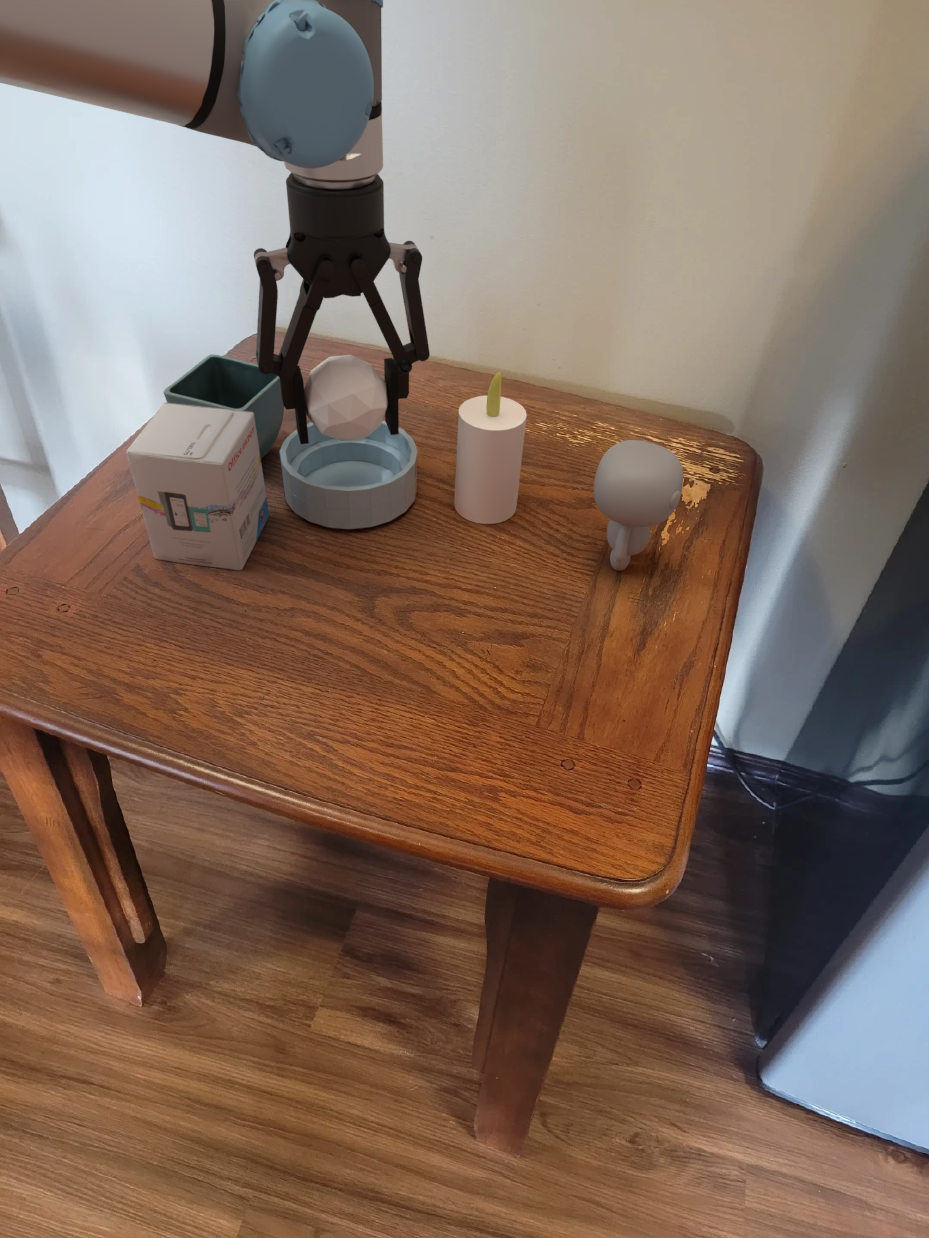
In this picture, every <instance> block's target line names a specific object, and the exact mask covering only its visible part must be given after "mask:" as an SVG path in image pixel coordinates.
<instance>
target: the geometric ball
mask: <svg viewBox="0 0 929 1238" xmlns="http://www.w3.org/2000/svg"><path fill="white" fill-rule="evenodd" d="M304 395H305V406H306V417H308V419H309V420H310V422H313V424H314V425H315V426H316V427H317V429H318V430H319V431H320V433H321V434H324V435H326V436H329V437H332V438H334V439H337V440H339V441H354V440H363V439H365V438H366V437H367V436H368V435H370V434H371V433H372V432H373V431H375V430H376V429H377V428H379V427H380V426H381V424H382V421H384V418H385V412H386V409H387V406H388V396H387V387H386V382H385V380H384V379H383V377H382V376H381V374H379V372H378V371H377V370H376V369H375V367H374V366H373V365H372V364H371V363H370V362H368V361H365V360H363V359H362V358H359V357H357V356H355V355H353V354H343V355H342V354H341V355H333V356H332V355H331V356H328V357H327V358H326V359H324V360H323V361H321V362H320V363H319V364H318V365H316V366H315V367H314V368H312V369H311V370H310V371H309V374H308V377H307V380H306V383H305V385H304Z"/></svg>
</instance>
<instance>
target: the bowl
mask: <svg viewBox="0 0 929 1238" xmlns="http://www.w3.org/2000/svg"><path fill="white" fill-rule="evenodd" d="M307 429H308V440H309V444H301V443H300V440H299V436H298V432H297V428H296V429H294V430H293V431H292V432H291V433H290V434H289V435H288V436H287V437H286V438H285V439H284V440H283V442H282V444H281V447H280V449H279V459H280V466H281V475H282V485H283V492H284V499H285V502H286V503H287V505H288V506H289V508H290V509H291V510H292V511H293V512H294V513H295V514H296V515H298V516H299V517H301V518H302V519H304V520H306V521H307V522H309V523H313V524H316V525H318V526H323V527H326V528H329V529H330V528H331V529H339V530H340V529H342V530H355V529H356V530H357V529H364V528H373V527H376V526H379V525H383V524H385V523H389V522H391V521H393V520H395V519H396V518H398V517H399V516H401V515H403V514H404V513H406V512H407V510H408V509H409V508H410V507H411V506H412V505H413V503H414V502H415V500H416V496H417V490H418V458H419V457H418V456H419V455H418V454H419V453H418V448H417V446H416V443H415V440H414V438H413V437H411V435H410V434H408V432H406V430H405V429H403V428H402V427H399V434H397V435H391V434H390V432H389V429H388V426H387V424H386V421H385V420H383V421H382V424H381V426H380V427H379V428H377V429H376V430H375V431H373V432H372V433H371V434H370V435H368V436H367V437H366V438H365V439H363V440H354V441H339V440H337V439H334V438H332V437H329V436H326V435H324V434H321V433H320V431H319V430H318V429H317V427H316V426H315V425H314V424H313V422H312V421H310V422H307Z"/></svg>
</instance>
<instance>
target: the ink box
mask: <svg viewBox="0 0 929 1238" xmlns="http://www.w3.org/2000/svg"><path fill="white" fill-rule="evenodd" d="M125 453H126V457H127V461H128V464H129V469H130V472H131V475H132V480H133V483H134V487H135V491H136V494H137V498H138V501H139V506H140V509H141V512H142V516H143V520H144V523H145V528H146V532H147V535H148V539H149V544H150V546H151V551H152V555H153V559H155V560H159V561H165V562H171V563H172V562H173V563H177V564H178V563H179V564H188V565H194V566H203V567H210V568H218V569H225V570H232V571H233V570H234V571H242V570H243V569H244V567H245V565H246V563H247V561H248V559H249V557H250V555H251V553H252V551H253V549H254V547H255V545H256V544H257V541H258V539H259V537H260V535H261V534H262V532H263V530H264V528H265V525H266V524H267V522H268V520H269V518H270V512H269V511H270V510H269V505H268V499H267V492H266V491H267V490H266V486H265V479H264V473H263V466H262V459H261V458H260V452H259V445H258V438H257V432H256V425H255V418H254V413H253V412H249V411H248V412H247V411H239V410H229V409H219V408H210V407H202V406H193V405H183V404H174V403H167V401H166V402H163V404H162V405H161V406H160V407H159V408H158V410H157V411H156V412H155V414H154V415H153V416H152V417H151V419H150V420H149V421H148V423H147V424H146V425H145V427H143V429H142V430H141V432H140V433H139V434H138V435H137V437H136V438H135V439H134V440H133V442H132V443H131V444H130V445H129V447H128V448H127V449H126V451H125Z"/></svg>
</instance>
